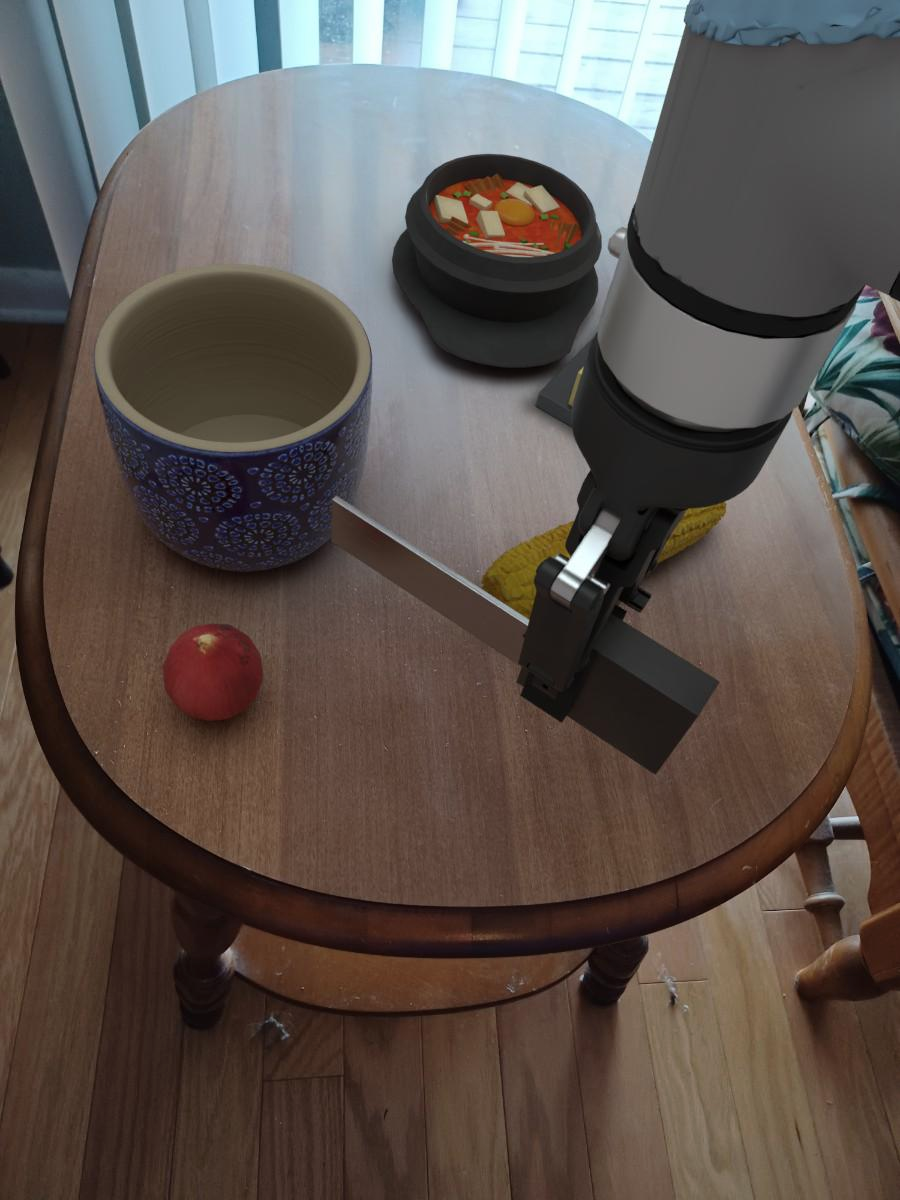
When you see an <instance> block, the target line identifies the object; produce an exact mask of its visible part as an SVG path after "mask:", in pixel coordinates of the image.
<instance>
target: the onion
mask: <svg viewBox="0 0 900 1200" xmlns="http://www.w3.org/2000/svg"><path fill="white" fill-rule="evenodd" d="M263 668H264V667H263V658H262V656H261V653H260V651H259V650H258V647H256V644H254V641H253V640H252V639H251V637H250V636H249V635H247V634H246V633H245V632H243V631H241V630H240V629H238V628H237V627H235V626H233V625H231V624H229V623H208V624H200V625H195V626H193V627H191V628H189V629H187V630H185V631H184V632H182V633H180V635H179V636H178V637H177V639H176V640H175V641H174V642H173V643H172V644H171V645H170V647H169V649H168V652H167V655H166V657H165V659H164V662H163V664H162V676H163V687H164V690H165V692H166V693H167V695H168V697H169V698H170V699H171V701H172V702H173V704H174V705H175V707H176V708H177V709H179V710H180V711H182V712H183V713H185V714H186V715H188V716H189V717H191V718H196V719H199V720H202V721H203V720H204V721H208V722H212V721H222V720H229V719H230V718H233V717H235V716H237V715H238V714H240V713H243V712H244V711H246V709H247V708H248V707H249V706H250V705H251V704H252V703H253V701H254V700H255V699H257V696H258V693H259V691H260V688H261V685H262V682H263V678H264V671H263Z"/></svg>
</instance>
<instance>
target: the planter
mask: <svg viewBox="0 0 900 1200" xmlns="http://www.w3.org/2000/svg"><path fill="white" fill-rule="evenodd" d="M92 360H93V361H92V362H93V364H92V365H93V372H94V379H95V384H96V389H97V390H96V391H97V393H98V398H99V403H100V407H101V411H102V415H103V419H104V423H105V427H106V431H107V435H108V439H109V442H110V444H111V448H112V452H113V455H114V459H115V462H116V466H117V468H118V471H119V474H120V476H121V479H122V483H123V485H124V487H125V490H126V492H127V495H128V498H129V499H130V501H131V503H132V505H133V506H132V507H133V508H134V510H135V511H136V513H137V515H138V516H139V517H140V519H141V520H142V522H143V523H144V524H145V526H146V528H147V529H148V530H149V531H150V532H151V533H152V534H153V536H154V537H156V539H157V540H159V542H161V543H162V544H163V545H165V546H166V547H167V548H169V549H170V550H171V551H174V552H175V553H176V554H178V555H181V556H182V557H184V558H186V559H187V560H189V561H192V562H194V563H197V564H199V565H202V566H205V567H209V568H213V569H218V570H221V571H222V570H223V571H229V572H244V573H245V572H249V573H250V572H261V571H267V570H272V569H278V568H280V567H284V566H286V565H287V566H288V565H290V564H292V563H294V562H297V561H300V560H301V559H303V558H306V557H307V556H309V555H312V554H313V553H314V552H316V551H317V550H318V549H319V548H321V547H322V546H323V545H325V544H326V543H327V542H328V541H329V540H331V530H332V499H333V498H334V497H335V496H338V497H340V498H341V499H343V500H344V501H346V502H347V503H349V504H350V505H352V506H354V505H355V503H356V501H357V498H358V496H359V492H360V489H361V484H362V479H363V475H364V470H365V466H366V465H365V462H366V459H367V452H368V443H369V434H370V433H369V432H370V424H371V413H372V411H371V410H372V395H373V353H372V347H371V343H370V340H369V337H368V334H367V332H366V330H365V328H364V325H363V324H362V323H361V321H360V320H359V318H358V317H357V316H356V314H355V313H354V311H353V310H351V308H350V307H349V306H348V305H347V304H346V303H344V301H343V300H341V298H339V297H338V296H336V295H335V294H334V293H332V292H331V291H329V290H328V289H326V288H325V287H323V286H321V285H320V284H317V283H316V282H314V281H312V280H309V279H307V278H304V277H302V276H301V275H297V274H295V273H292V272H289V271H285V270H282V269H277V268H273V267H268V266H262V265H256V264H243V263H240V264H239V263H220V264H210V265H209V264H208V265H207V264H206V265H201V266H195V267H189V268H186V269H182V270H178V271H175V272H171V273H168V274H166V275H163V276H161V277H158V278H156V279H153V280H152V281H150V282H148V283H146V284H144V285H142V286H141V287H139V288H138V289H136V290H134V291H132V292H131V293H130V294H129V295H127V296H126V297H125V298H123V300H121V301H120V302H119V303H118V304H117V305H116V306H115V307H114V308H113V309H112V311H111V312H110V313H109V314H108V316H107V317H106V319H105V320H104V321H103V323H102V324H101V327H100V329H99V330H98V333H97V336H96V339H95V344H94V348H93V355H92Z"/></svg>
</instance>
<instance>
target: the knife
mask: <svg viewBox="0 0 900 1200" xmlns="http://www.w3.org/2000/svg"><path fill="white" fill-rule="evenodd" d="M330 542H331V543H332V544H334V545H335V546H337V547H338V548H340V549H341V550H343V551H344V552H346V553H347V554H349V555H351V556H352V557H353V558H355V559H357V560H358V561H359V562H361V563H363V564H364V565H366V566H367V567H368V568H370V569H372V570H373V571H375V572H376V573H378V574H379V575H381V576H382V577H384V578H385V579H387V580H389V581H390V582H391V583H393V584H395V585H396V586H398V587H399V588H401V589H402V590H404V591H405V592H407V593H408V594H409V595H411V596H413V597H414V598H416V599H417V600H418V601H420V602H422V603H423V604H425V605H426V606H428V607H429V608H431V609H432V610H434V611H436V612H437V613H438V614H439V615H441V616H443V617H444V618H446V619H448V620H449V621H450V622H452V623H454V624H455V625H457V626H458V627H459V628H461V629H463V630H464V631H465V632H466V633H469V634H470V635H472V636H473V637H474V638H476V639H478V640H479V641H480V642H483V643H484V644H486V645H487V646H488V647H490V648H491V649H493V650H494V651H496V652H497V653H499V654H500V655H502V656H504V657H505V658H507V659H509V661H511V662H513V663H514V664H516V665H517V666H518V667H520V670H519V673H518V676H517V678H516V681H515V683H517V684H518V685H519V686H521V687H523V686H524V684H525V681H526V678H527V675H528V673H529V671H528V670H527V669H525V668H524V667H522V666H521V665H519V664H518V662H519V658H520V654H521V650H522V647H523V643H524V639H525V638H524V637H523V634H524V633H525V632H526V630H527V627H528V623H529V619H528V618H526V617H524V616H523V615H521V614H520V613H518V612H517V611H515V610H514V609H512V608H510V607H509V606H507V605H506V604H504V603H503V602H501V601H500V600H498V599H496V598H495V597H493V596H492V595H490V594H489V593H487V592H486V591H484V590H482V589H481V588H482V587H480V586H478V585H476V584H475V583H473V582H472V581H470V580H469V579H467V578H466V577H464V576H462V575H460V574H459V573H458V572H456V571H454V570H453V569H452V568H450V567H448V566H447V565H445V564H444V563H442V562H440V561H439V560H437V559H436V558H434V557H433V556H431V555H430V554H428V553H427V552H425V551H424V550H422V549H420V548H419V547H417V546H416V545H414V544H413V543H411V542H410V541H408V540H406V539H405V538H403V537H401V535H399V534H397V533H395V532H394V531H393V530H391V529H390V528H388V527H386V526H385V525H383V524H381V522H379V521H377V520H375V519H374V518H372V517H371V516H369V515H368V514H366V513H364V512H363V511H361V510H360V509H358V508H357V507H355V506H354V505H353V506H352V505H350V504H349V503H347V502H346V501H344V500H343V499H341V498H340V497H338V496H335V497H334V498H333V499H332V530H331V538H330ZM593 651H594V652H596V653H597V654H596V656H595V658H594V660H593V662H592V664H591V666H590V669H589V671H588V673H587V675H586V677H585V679H584V681H583V683H582V686H581V688H580V690H579V692H578V694H577V696H576V698H575V701H574V703H573V705H572V707H571V709H570V711H569V713H568V715H567V716H566V717H568V718H569V719H571V720H572V721H574V722H575V723H577V724H578V725H580V726H581V727H582V728H584V729H586V730H587V731H589V732H590V733H591V734H593V735H595V736H596V737H598V738H599V739H600V740H602V741H604V742H605V743H607V744H608V745H610V746H611V747H612V748H614V749H616V750H617V751H619V752H620V753H622V754H623V755H624V756H626V757H628V758H629V759H631V760H632V761H634V763H636V764H638V765H640V766H641V767H643V768H644V769H646V770H647V771H648V772H650V773H652V774H653V775H657V774H658V772H659V771H660V770H661V768H662V767H663V766H664V764H665V763H666V762H667V760H668V758H670V756H671V755H672V754H673V752H674V751H675V749H676V748H677V746H678V745H679V744H680V742H681V741H682V739H683V738H684V737H685V735H686V734H687V733H688V731H689V729H691V727H692V726H693V725H694V723H695V722H696V720H697V719H698V718H699V716H700V714H701V713H702V712H703V710H704V708H705V707H706V705H707V704H708V702H709V700H710V699H711V697H712V695H713V694H714V692H715V691H716V689H717V687H718V686H719V684H720V680H718V679H717V678H715V677H713V676H712V675H710V674H709V673H707V672H705V671H704V670H703V669H701V668H699V667H697V666H696V665H695V664H692V663H691V662H690V661H688V660H686V659H685V658H683V657H681V656H680V655H678V654H676V653H675V652H673V651H672V650H671V649H668V648H667V647H666V646H665V645H663V644H660V643H659V642H658V641H656V640H655V639H652V638H651V637H649V636H648V635H646V634H645V633H643V632H641V631H640V630H638V629H636V628H635V627H633V626H632V625H631V624H629V623H627V622H626V621H624V620H623V621H622V620H621V619H619V618H618V617H616V616H614V615H613V614H610V616H609V618H608V620H607V622H606V624H605V626H604V628H603V630H602V632H601V634H600V636H599V638H598V640H597V642H596V644H595V646H594V648H593Z"/></svg>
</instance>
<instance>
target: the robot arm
mask: <svg viewBox="0 0 900 1200" xmlns="http://www.w3.org/2000/svg"><path fill="white" fill-rule="evenodd" d="M684 11H685V12H684V16H683V22H684V24H685V25H684V29H683V31H682V35H681V40H680V43H679V46H678V50H677V54H676V57H675V61H674V65H673V67H672V71H671V75H670V78H669V82H668V86H667V89H666V93H665V96H664V100H663V103H662V107H661V110H660V114H659V117H658V121H657V124H656V128H655V131H654V134H653V138H652V142H651V146H650V150H649V153H648V157H647V160H646V163H645V167H644V171H643V174H642V177H641V181H640V185H639V188H638V192H637V196H636V198H635V199H636V200H635V202H634V204H633V206H632V208H631V212H630V215H629V219H628V222H627V227H624V226H621V227H619V228H617V229H616V231H615V232H614V233H613V234H612V235H611V236H610V237H609V238H608V244H607V250H608V252H609V254H610V255H611V256H612V257H614V258H615V259H618V260H617V263H616V267H615V269H614V272H613V275H612V279H611V282H610V284H609V287H608V290H607V294H606V298H605V299H604V300H605V301H604V304H603V308H602V310H601V313H600V318H599V321H598V325H597V332H596V333H595V335H594V336H595V337H594V338H593V337H592V338H593V340H592V342H591V345H590V348H589V351H588V355H587V358H586V361H585V365H584V368H583V371H582V375H581V378H580V381H579V385H578V388H577V391H576V394H575V398H574V401H573V405H572V412H571V424H572V427H571V429H572V430H571V431H572V434H573V437H574V441H575V443H576V445H577V448H578V450H579V451H580V453H581V455H582V457H583V458H584V460H585V462H586V464H587V465H588V468H589V471H588V473H587V474H586V476H585V478H584V479H583V482H582V484H581V487H580V489H579V492H578V495H577V497H576V498H577V499H576V503H577V506H578V510H577V513H576V515H575V518H574V520H573V521H574V523H573V525H572V528H571V530H570V533H569V535H568V538H567V540H566V543H565V547H566V550H567V551H568V553H569V554H570V556H571V558H570V559H569V558H567V557H566V556H564V555H563V554H561V553H558V554H557V555H556V556H555V557H554V558H552V557H551V556H549V557H548V558H547V559H545V560H544V561H543V562H541V563H540V565H539V566H538V568H537V569H536V572H535V573H537V574H536V576H535V578H534V585H535V588H536V591H537V592H536V596H535V600H534V603H533V607H532V611H531V615H530V619H529V623H528V627H527V630H526V632H525V633H524V634H523V637H524V638H525V639H524V643H523V647H522V650H521V654H520V658H519V662H518V664H519V665H521V666H522V667H524V668H525V669H527V670H528V671H529V673H528V675H527V678H526V681H525V684H524V686H522V689H521V692H520V694H519V695H520V697H521V698H523V699H525V700H526V701H528V702H529V703H531V704H532V705H533V706H535V707H537V708H539V709H540V710H541V711H543V712H544V713H545V714H547V715H549V716H550V717H552V718H553V719H555V720H556V721H558V722H559V723H561V724H562V723H563V722H564V720H565V719H566V717H568V716H567V715H568V713H569V711H570V709H571V707H572V705H573V703H574V701H575V698H576V696H577V694H578V692H579V690H580V688H581V686H582V683H583V681H584V679H585V677H586V675H587V673H588V671H589V669H590V666H591V664H592V662H593V660H594V658H595V656H596V654H597V653H596V652H594V651H593V648H594V646H595V644H596V642H597V640H598V638H599V636H600V634H601V632H602V630H603V628H604V626H605V624H606V622H607V620H608V618H609V616H610V614H613V615H614V616H616V617H618V618H619V619H621V620H622V621H624V619H625V617H626V615H627V613H628V611H627V610H626V609H624V608H622V607H621V603H623V605H625V606H627V607H628V608H630V609H632V610H634V611H635V612H637V613H638V614H641V613H642V612H643V610H644V609H645V608H646V606H647V605H648V603H649V602H650V599H651V598H652V596H653V594H652V593H650V592H648V591H647V590H645V589H644V588H642V587H641V584H642V582H643V580H644V578H645V576H649V574H650V573H651V572H653V571H655V570H656V568H657V566H658V564H659V563H658V562H657V561H658V558H659V556H660V554H661V552H662V550H663V549H664V547H665V545H666V543H667V541H668V539H669V537H670V535H671V534H672V532H673V531H674V530H675V528H676V527H677V525H678V524H679V523H680V521H681V520H682V518H683V516H684V514H685V512H686V510H688V509H692V508H703V507H709V506H713V505H717V504H720V503H723V502H725V503H726V502H728V501H730V500H733V499H734V498H736V497H737V496H738V495H740V494H742V493H743V492H744V491H746V490H747V489H748V488H749V487H750V486H751V485H752V484H753V483H754V482H755V480H756V479H757V477H758V476H759V474H760V472H761V471H762V469H763V467H764V466H765V464H766V462H767V461H768V458H769V457H770V455H771V453H772V452H773V449H774V448H775V446H776V444H777V443H778V441H779V439H780V437H781V435H782V434H783V432H784V430H785V429H786V427H787V426H788V423H789V422H790V420H791V418H792V415H793V413H794V410H795V409H796V408H797V407H799V406H800V405H801V403H802V401H803V399H804V398H805V396H806V395H807V393H808V392H809V389H810V388H811V387H812V384H813V382H814V381H815V379H816V377H817V376H818V374H819V373H820V371H821V369H822V367H823V366H824V364H825V362H826V360H827V359H828V356H829V355H830V353H831V352H832V350H833V349H834V347H835V345H836V343H837V341H838V339H839V338H840V336H841V334H842V333H843V331H844V329H845V328H846V326H847V325H848V322H849V320H850V319H851V317H852V316H853V314H854V312H855V311H856V307H857V303H858V300H859V298H860V297H861V295H862V293H863V291H864V290H865V287H866V286H867V287H869V288H871V289H874V290H876V291H878V292H880V293H882V294H885V295H886V296H889V297H890V298H891V299H894V300H895V301H897V302H899V303H900V0H689V1H688V4H687V5H686V7H685V10H684ZM519 665H518V666H519Z"/></svg>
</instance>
